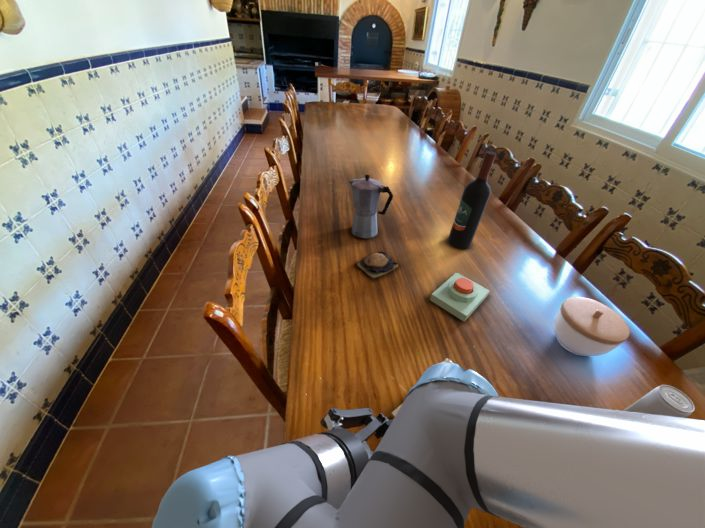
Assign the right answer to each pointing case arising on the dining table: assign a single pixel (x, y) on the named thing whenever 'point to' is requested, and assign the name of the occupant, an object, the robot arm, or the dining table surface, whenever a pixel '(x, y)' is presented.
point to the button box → (459, 298)
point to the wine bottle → (472, 206)
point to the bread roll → (377, 264)
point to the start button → (463, 286)
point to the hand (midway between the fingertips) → (406, 435)
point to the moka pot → (367, 205)
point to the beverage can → (664, 403)
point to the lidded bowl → (589, 327)
